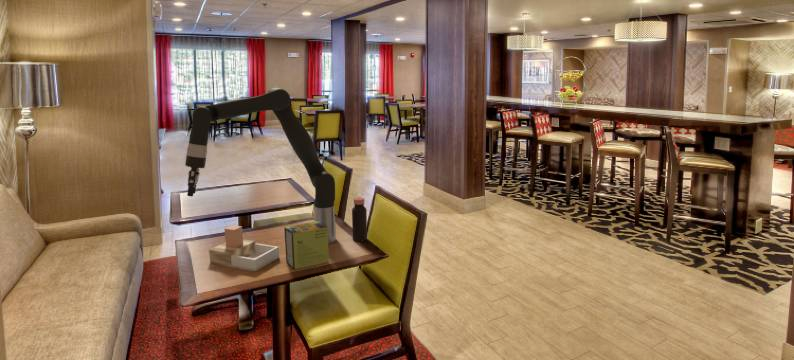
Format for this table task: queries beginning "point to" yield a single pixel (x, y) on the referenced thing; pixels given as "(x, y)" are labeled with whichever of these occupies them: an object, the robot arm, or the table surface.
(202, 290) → the table surface
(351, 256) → the table surface
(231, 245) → the block
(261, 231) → the table surface
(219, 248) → the beige box sleeve
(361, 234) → the bottle
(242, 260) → the white inner box tray
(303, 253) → the protein box
